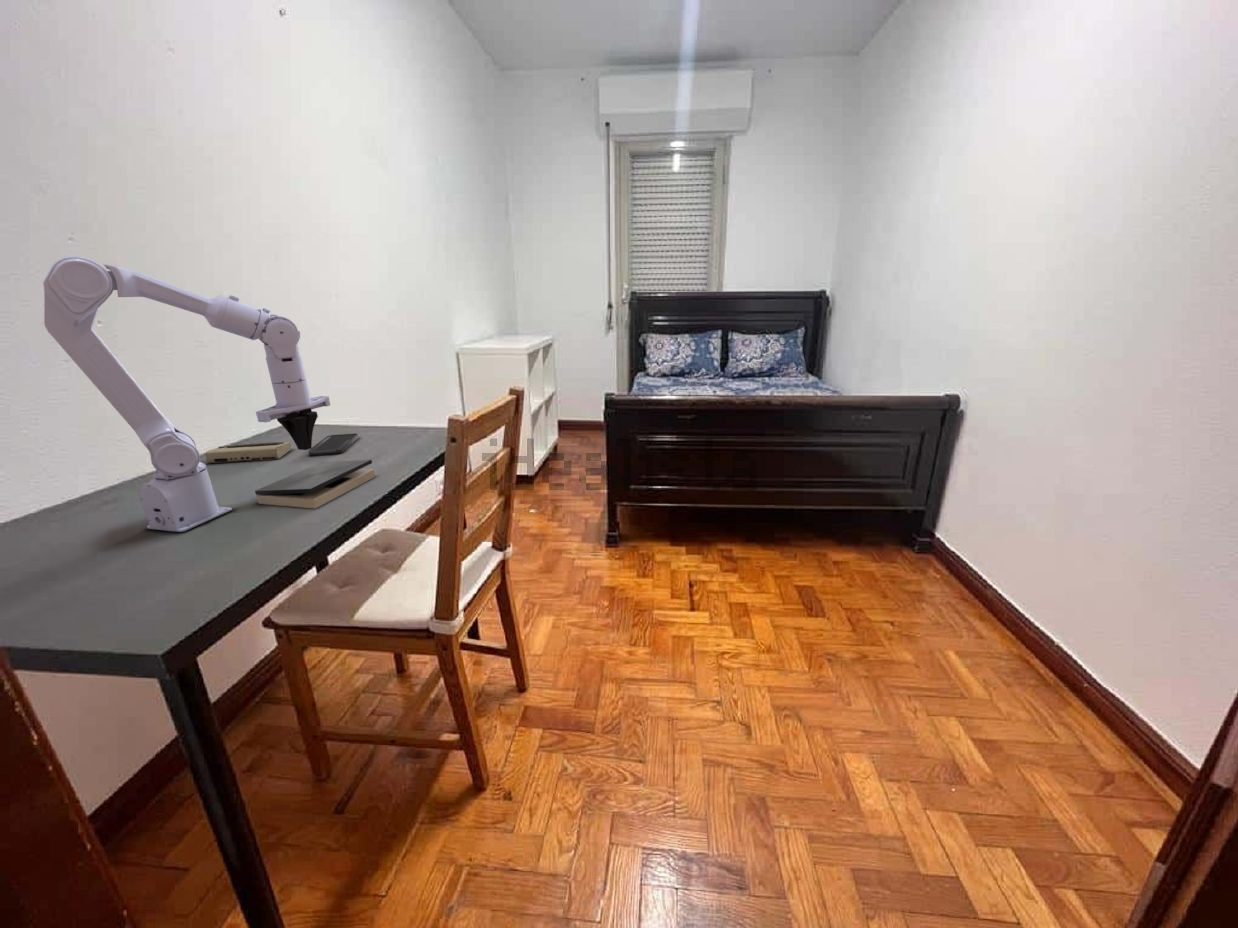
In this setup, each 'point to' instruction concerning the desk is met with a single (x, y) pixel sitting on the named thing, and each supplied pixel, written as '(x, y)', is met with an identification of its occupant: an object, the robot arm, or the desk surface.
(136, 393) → the robot arm
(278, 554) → the desk surface
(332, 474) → the laptop screen
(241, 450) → the computer
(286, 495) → the laptop
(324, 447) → the phone
